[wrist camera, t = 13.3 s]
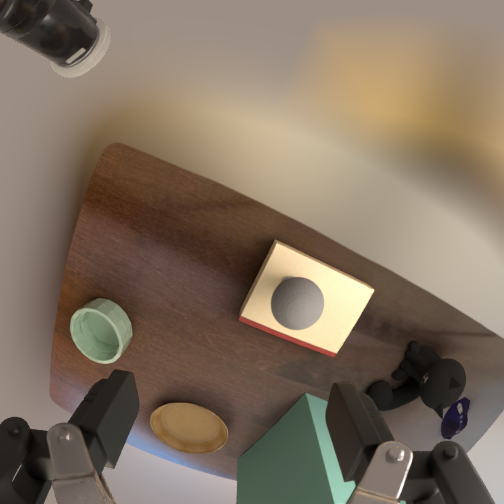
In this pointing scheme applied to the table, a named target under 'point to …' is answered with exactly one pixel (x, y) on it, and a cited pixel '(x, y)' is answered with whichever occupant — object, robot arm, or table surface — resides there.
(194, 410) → the plant saucer
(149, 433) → the table surface
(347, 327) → the book
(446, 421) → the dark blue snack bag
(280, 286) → the light bulb
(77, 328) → the bowl
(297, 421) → the box
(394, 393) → the figurine
